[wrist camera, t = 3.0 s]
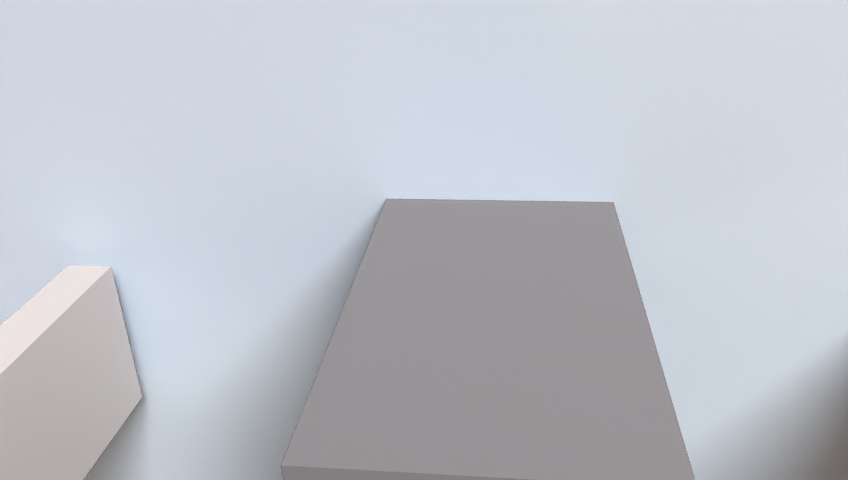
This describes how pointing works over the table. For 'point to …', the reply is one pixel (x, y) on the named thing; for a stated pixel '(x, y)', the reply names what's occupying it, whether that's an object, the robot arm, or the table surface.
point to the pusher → (491, 354)
